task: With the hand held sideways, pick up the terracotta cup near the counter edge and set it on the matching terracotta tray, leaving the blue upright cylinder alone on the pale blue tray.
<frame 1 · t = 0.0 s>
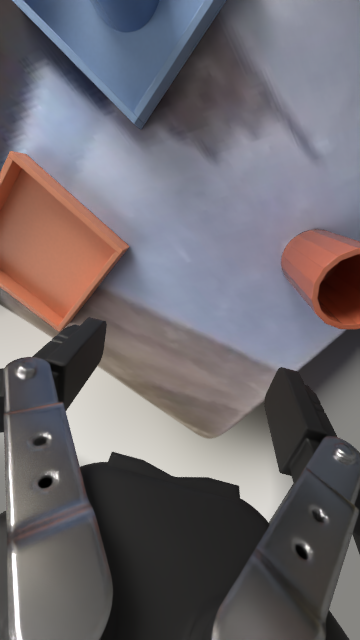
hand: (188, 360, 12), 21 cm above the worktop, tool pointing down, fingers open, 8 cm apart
terracotta tray: (50, 249, 33), on the worktop
terracotta cup: (310, 259, 30), on the worktop
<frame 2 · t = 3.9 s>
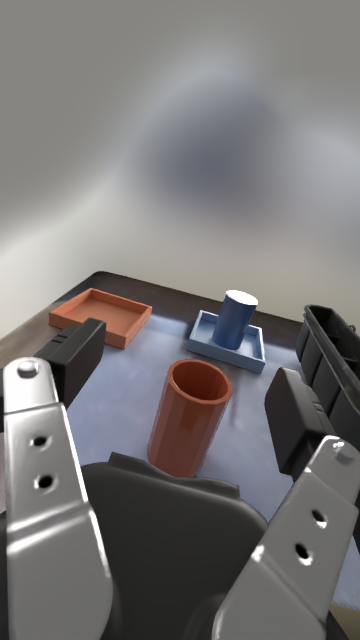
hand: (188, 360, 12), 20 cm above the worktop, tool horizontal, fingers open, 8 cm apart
terracotta tray: (104, 320, 53), on the worktop
blue upright cylinder: (226, 341, 56), resting on blue tray
blue tray: (225, 343, 56), on the worktop
terracotta cup: (174, 454, 31), on the worktop
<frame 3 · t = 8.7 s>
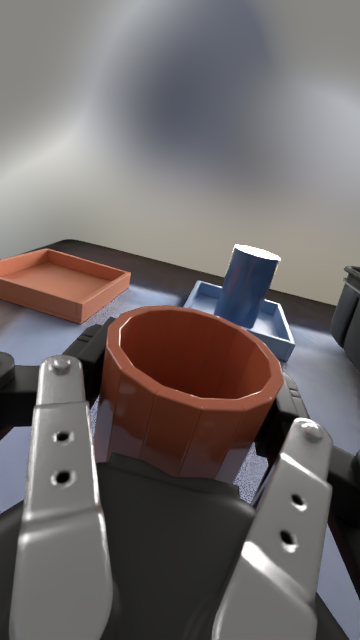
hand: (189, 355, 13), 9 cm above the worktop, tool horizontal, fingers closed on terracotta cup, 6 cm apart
terracotta tray: (60, 288, 37), on the worktop
blue upright cylinder: (233, 318, 40), resting on blue tray
blue tray: (232, 321, 40), on the worktop
terracotta cup: (145, 515, 15), on the worktop, touching gripper
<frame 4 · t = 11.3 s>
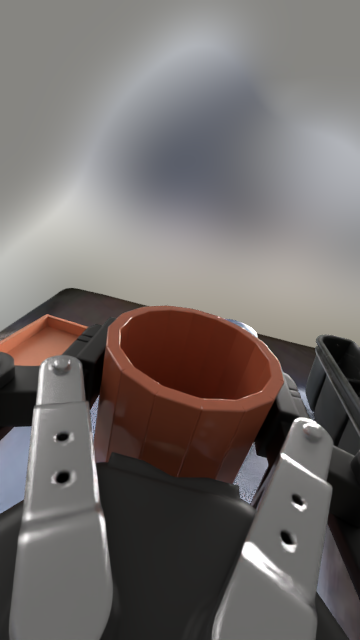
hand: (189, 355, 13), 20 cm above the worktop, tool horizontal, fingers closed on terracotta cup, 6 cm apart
terracotta tray: (59, 359, 41), on the worktop
terracotta cup: (145, 515, 15), point 11 cm above the worktop, touching gripper
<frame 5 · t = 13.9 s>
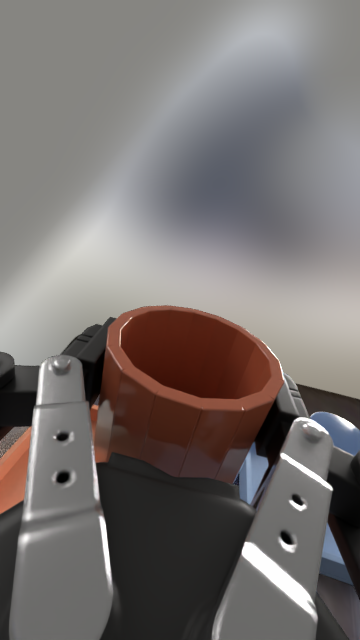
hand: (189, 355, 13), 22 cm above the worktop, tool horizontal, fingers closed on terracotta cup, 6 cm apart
terracotta tray: (81, 475, 28), on the worktop
blue upright cylinder: (299, 494, 32), resting on blue tray
blue tray: (298, 496, 32), on the worktop
terracotta cup: (145, 515, 15), point 13 cm above the worktop, touching gripper
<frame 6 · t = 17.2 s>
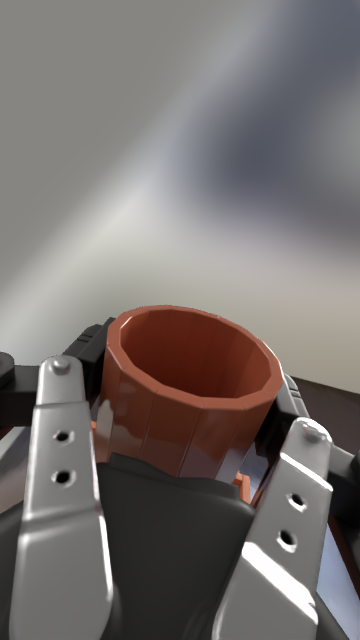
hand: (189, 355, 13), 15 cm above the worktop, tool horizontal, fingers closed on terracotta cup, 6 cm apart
terracotta tray: (129, 565, 17), on the worktop
terracotta cup: (145, 514, 15), point 6 cm above the worktop, touching gripper
when the fingers open (10 cm above the worktop, at t = 19.3 s): terracotta cup stays where it is, resting on terracotta tray.
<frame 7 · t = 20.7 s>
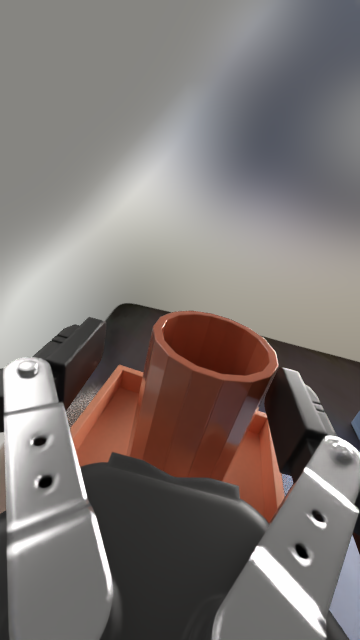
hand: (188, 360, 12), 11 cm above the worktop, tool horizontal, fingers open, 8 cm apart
terracotta tray: (168, 481, 19), on the worktop
terracotta cup: (170, 476, 18), point 1 cm above the worktop, touching terracotta tray
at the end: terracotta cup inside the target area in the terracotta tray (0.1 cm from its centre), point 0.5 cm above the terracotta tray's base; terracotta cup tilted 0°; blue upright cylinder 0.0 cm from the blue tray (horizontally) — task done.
